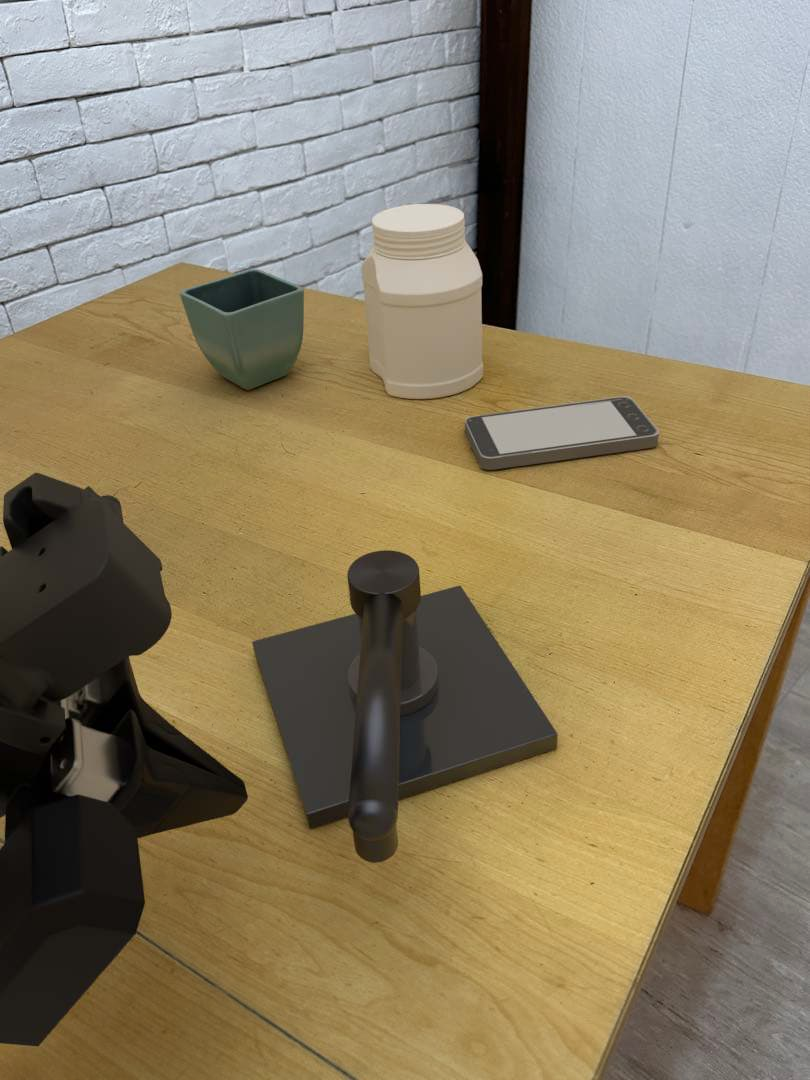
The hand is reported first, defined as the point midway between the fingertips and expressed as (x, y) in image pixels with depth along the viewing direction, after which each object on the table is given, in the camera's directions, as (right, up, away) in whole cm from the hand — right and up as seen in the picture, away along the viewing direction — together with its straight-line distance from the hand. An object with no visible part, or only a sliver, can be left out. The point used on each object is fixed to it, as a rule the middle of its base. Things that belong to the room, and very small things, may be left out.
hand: (240, 798), depth 36 cm
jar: (+9, +27, +52) cm, 59 cm away
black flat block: (+6, +1, +17) cm, 18 cm away
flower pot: (-8, +27, +54) cm, 61 cm away
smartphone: (+20, +19, +40) cm, 49 cm away
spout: (+6, +2, +7) cm, 10 cm away
